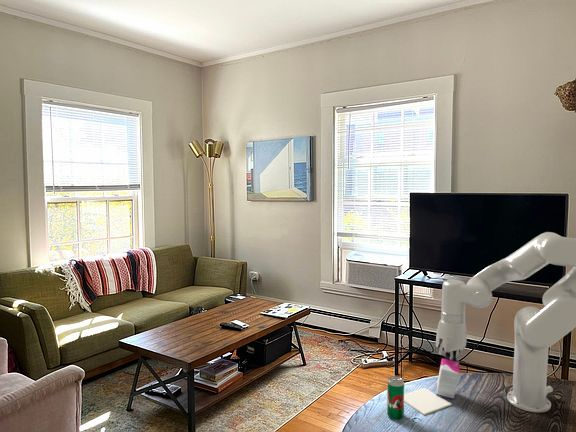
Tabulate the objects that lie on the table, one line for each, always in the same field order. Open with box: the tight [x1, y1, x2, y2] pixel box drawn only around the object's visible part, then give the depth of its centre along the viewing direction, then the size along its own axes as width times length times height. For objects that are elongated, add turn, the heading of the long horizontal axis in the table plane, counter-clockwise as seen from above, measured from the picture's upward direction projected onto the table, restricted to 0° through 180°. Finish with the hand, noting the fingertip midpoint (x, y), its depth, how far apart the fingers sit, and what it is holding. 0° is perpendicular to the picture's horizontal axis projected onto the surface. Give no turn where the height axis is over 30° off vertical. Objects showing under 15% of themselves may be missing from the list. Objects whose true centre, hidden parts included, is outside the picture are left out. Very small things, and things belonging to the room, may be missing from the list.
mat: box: [404, 387, 453, 416], centre depth 146 cm, size 12×12×1 cm
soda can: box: [386, 375, 405, 421], centre depth 138 cm, size 5×5×12 cm
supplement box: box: [435, 358, 460, 400], centre depth 148 cm, size 6×6×12 cm
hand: (450, 368), depth 151 cm, fingers closed
